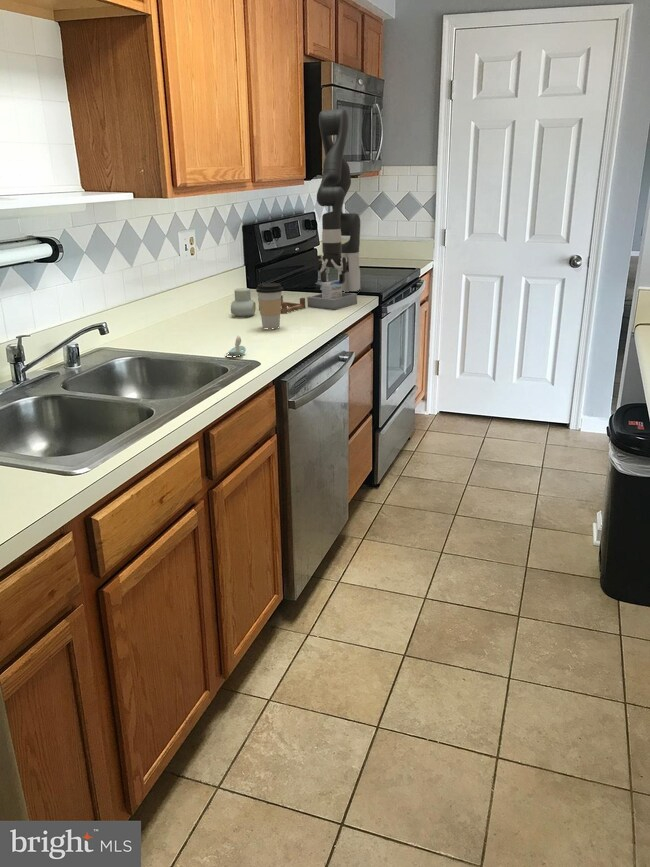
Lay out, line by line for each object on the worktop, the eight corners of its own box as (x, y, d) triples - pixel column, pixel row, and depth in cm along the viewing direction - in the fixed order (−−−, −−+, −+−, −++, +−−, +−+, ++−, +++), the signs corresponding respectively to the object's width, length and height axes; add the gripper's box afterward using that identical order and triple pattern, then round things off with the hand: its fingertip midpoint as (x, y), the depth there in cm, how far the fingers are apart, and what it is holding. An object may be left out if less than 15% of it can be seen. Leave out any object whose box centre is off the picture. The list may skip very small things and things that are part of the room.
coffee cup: (252, 327, 251) (250, 284, 246) (274, 323, 257) (272, 281, 251) (268, 332, 244) (266, 287, 239) (290, 327, 250) (288, 284, 245)
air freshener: (252, 318, 266) (250, 291, 263) (230, 318, 267) (228, 291, 263) (256, 312, 276) (255, 286, 273) (235, 312, 277) (234, 286, 273)
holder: (280, 304, 290) (279, 295, 289) (305, 308, 283) (305, 297, 281) (259, 310, 280) (258, 300, 279) (284, 313, 273) (284, 303, 272)
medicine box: (330, 305, 283) (330, 283, 280) (321, 304, 285) (321, 282, 282) (342, 302, 289) (342, 280, 285) (333, 301, 291) (333, 279, 288)
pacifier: (222, 359, 212) (242, 359, 212) (220, 339, 210) (240, 338, 210) (228, 353, 219) (247, 353, 219) (226, 333, 217) (245, 332, 216)
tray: (330, 300, 297) (330, 290, 295) (357, 303, 289) (356, 293, 288) (307, 307, 285) (307, 297, 283) (334, 310, 277) (333, 300, 276)
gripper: (352, 240, 277) (352, 282, 283) (322, 238, 285) (323, 279, 291) (341, 242, 271) (342, 285, 277) (311, 241, 279) (312, 282, 285)
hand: (332, 282), depth 284 cm, fingers open, 8 cm apart
